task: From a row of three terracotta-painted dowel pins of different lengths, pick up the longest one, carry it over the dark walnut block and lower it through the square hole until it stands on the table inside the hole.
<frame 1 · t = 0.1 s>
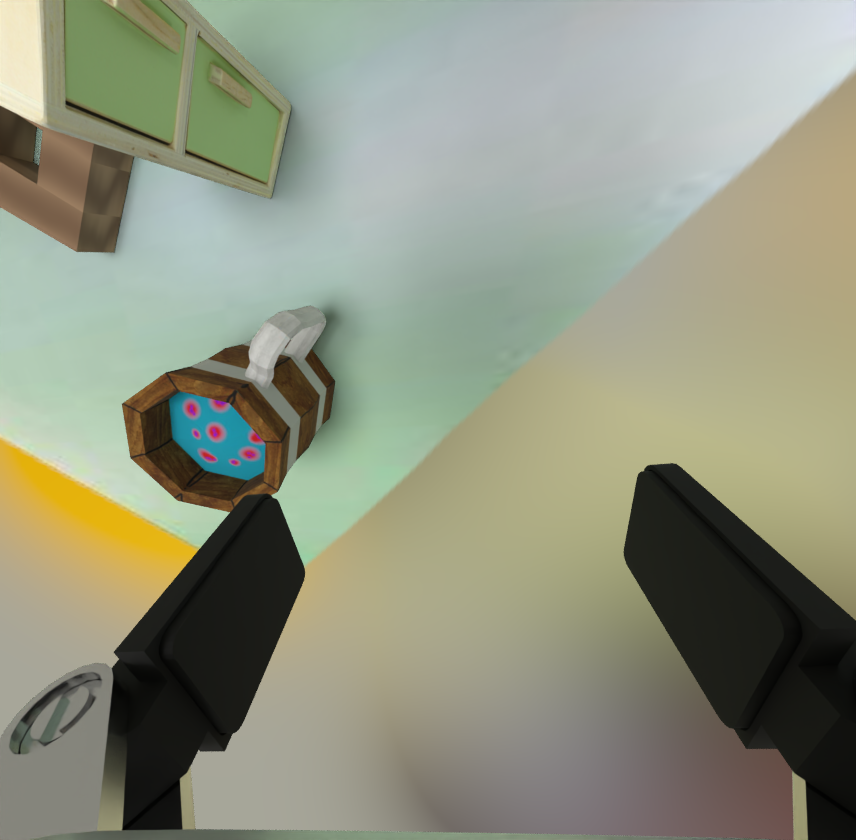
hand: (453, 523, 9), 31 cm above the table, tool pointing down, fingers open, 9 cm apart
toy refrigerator: (252, 140, 31), on the table
hole block: (60, 153, 32), on the table
mug: (294, 367, 40), on the table
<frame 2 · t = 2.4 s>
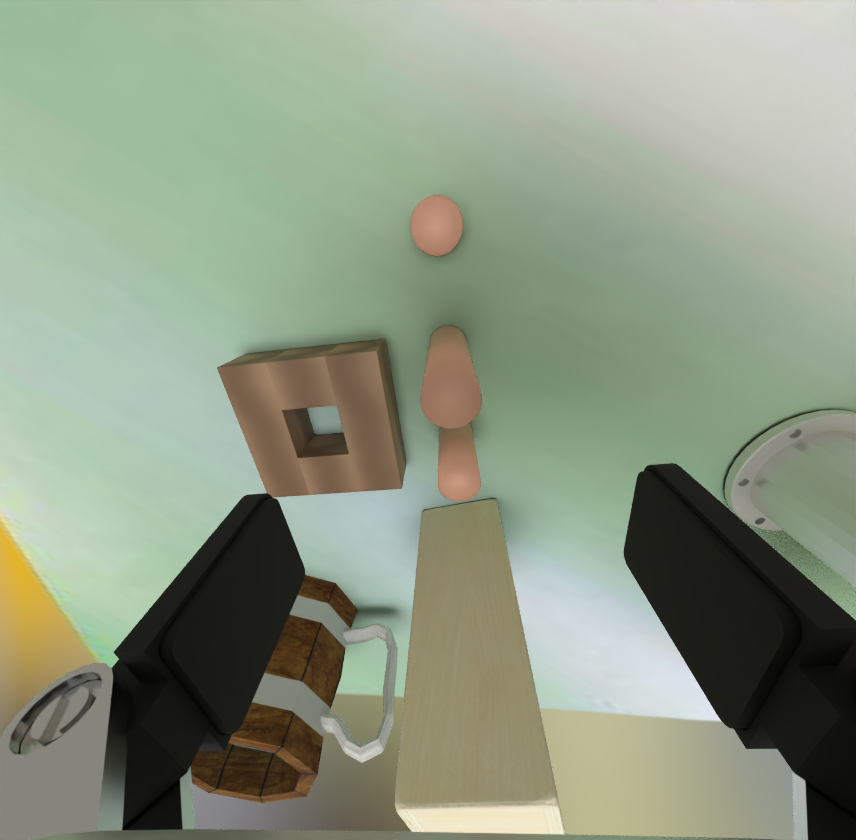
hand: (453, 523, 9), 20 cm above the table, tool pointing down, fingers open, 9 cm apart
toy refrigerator: (464, 528, 36), on the table
hole block: (331, 412, 30), on the table
pin short: (437, 232, 24), on the table
pin medium: (455, 431, 31), on the table
mug: (329, 607, 43), on the table
pin long: (447, 344, 27), on the table
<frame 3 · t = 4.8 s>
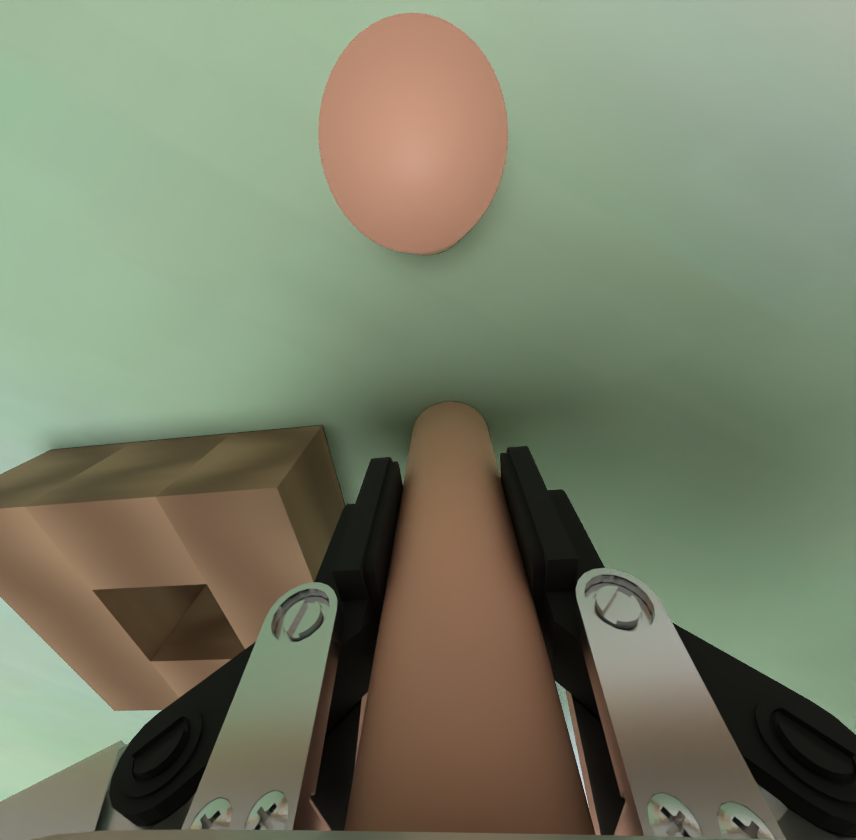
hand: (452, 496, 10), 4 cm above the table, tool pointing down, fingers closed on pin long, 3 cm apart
hole block: (234, 545, 16), on the table
pin short: (426, 198, 10), on the table
pin long: (450, 436, 13), on the table, touching gripper
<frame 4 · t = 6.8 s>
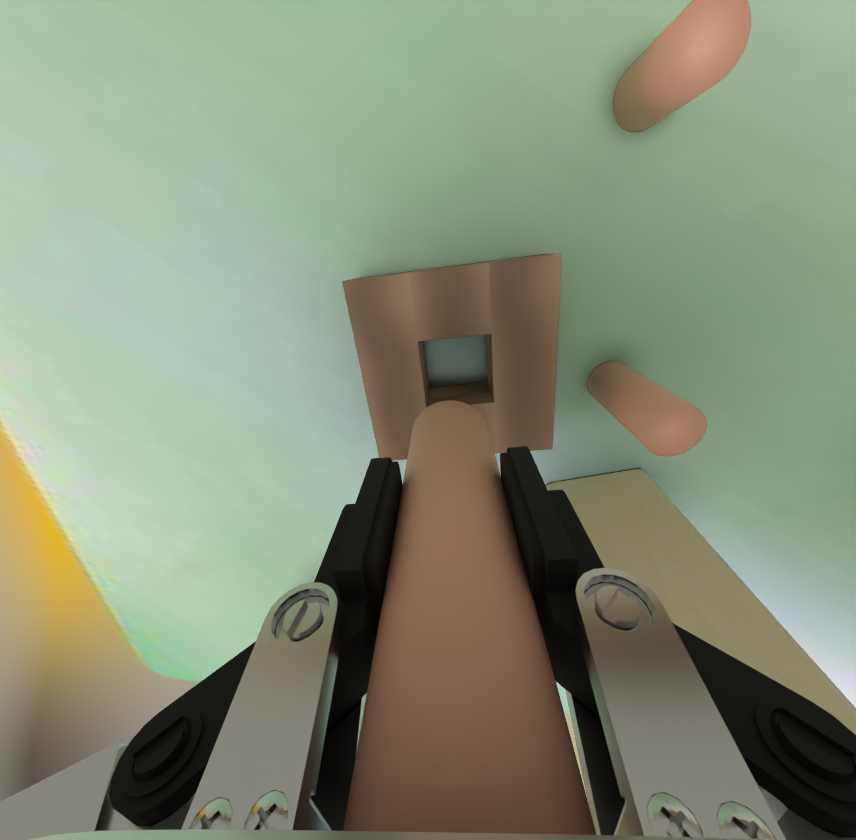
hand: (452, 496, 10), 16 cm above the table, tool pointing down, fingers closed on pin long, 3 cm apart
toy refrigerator: (592, 507, 30), on the table
hole block: (455, 356, 24), on the table
pin short: (642, 96, 18), on the table
pin medium: (608, 380, 25), on the table
pin long: (449, 435, 13), point 12 cm above the table, touching gripper
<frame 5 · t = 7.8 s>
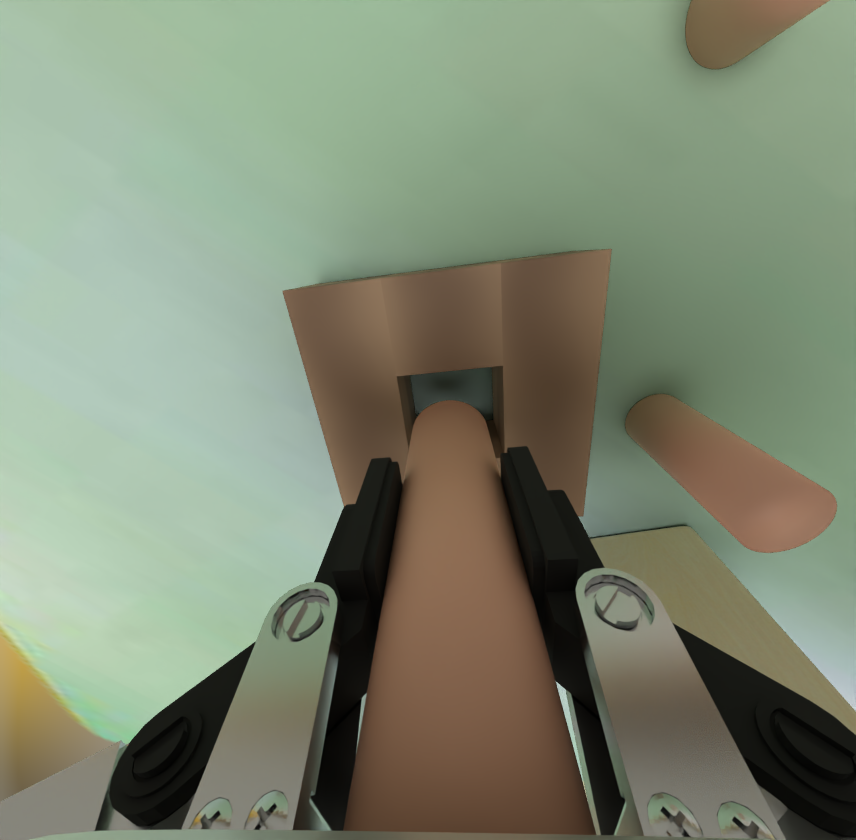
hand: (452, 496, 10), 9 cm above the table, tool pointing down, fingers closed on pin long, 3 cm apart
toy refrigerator: (623, 568, 24), on the table
hole block: (451, 387, 18), on the table
pin short: (731, 11, 12), on the table
pin medium: (653, 419, 19), on the table
pin long: (449, 435, 13), point 6 cm above the table, touching gripper
when the fingers open (5 cm above the table, at t = 8.8 s): pin long drops 1 cm, resting in hole block.
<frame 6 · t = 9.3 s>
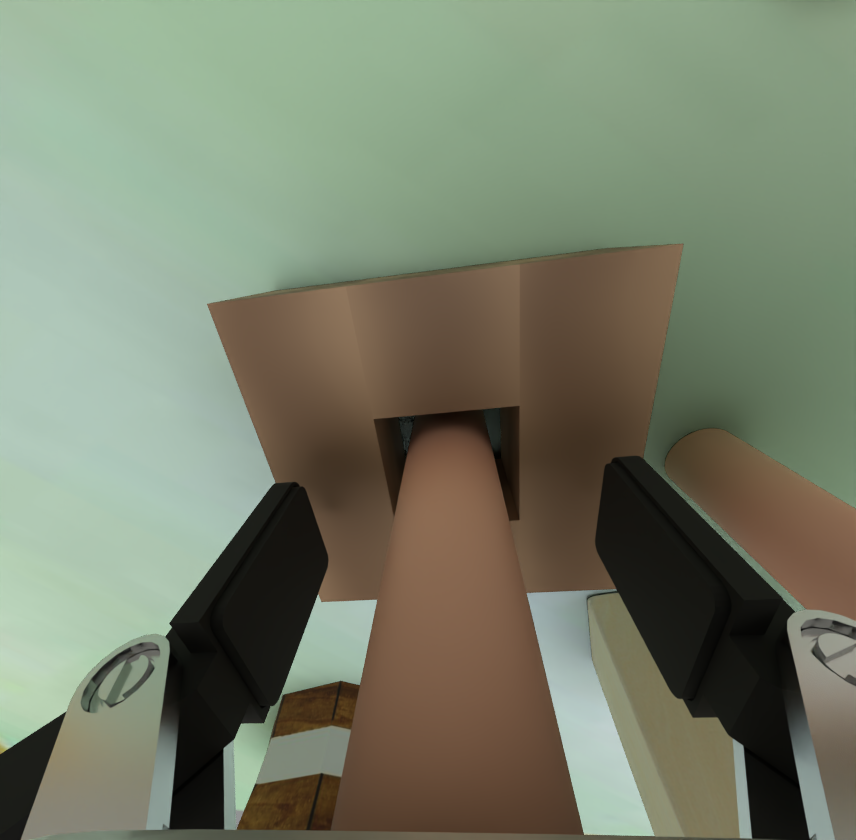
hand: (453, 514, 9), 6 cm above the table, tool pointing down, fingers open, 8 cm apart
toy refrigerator: (652, 623, 20), on the table
hole block: (449, 420, 15), on the table
pin medium: (700, 458, 15), on the table
mug: (392, 725, 27), on the table
pin long: (449, 419, 15), resting in hole block
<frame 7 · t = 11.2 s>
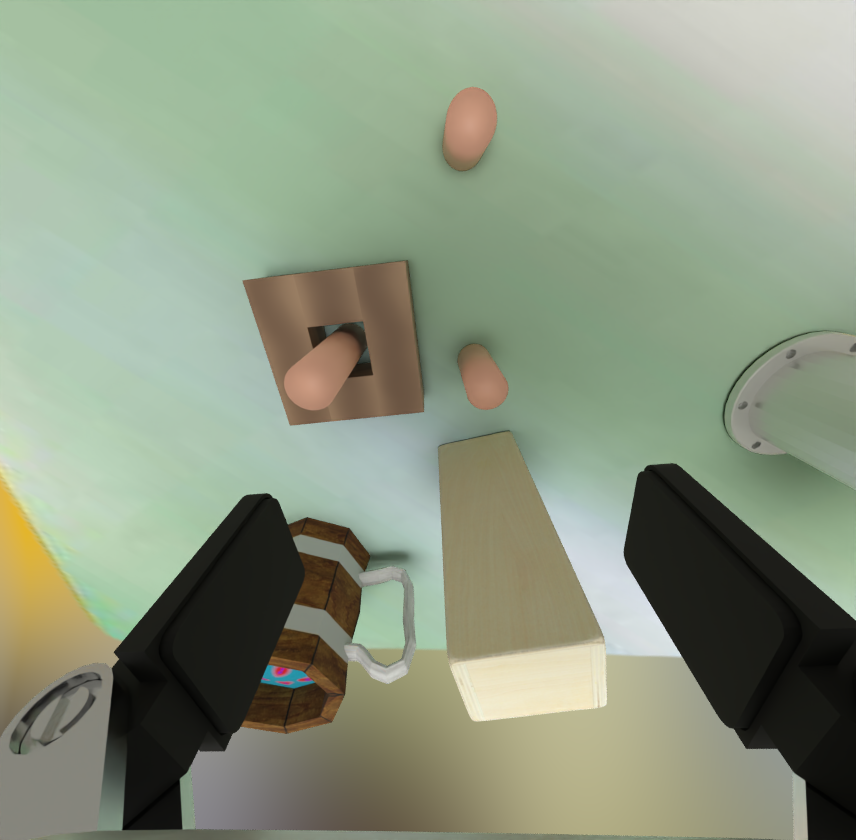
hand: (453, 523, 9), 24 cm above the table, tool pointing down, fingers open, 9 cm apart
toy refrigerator: (478, 464, 37), on the table
hole block: (351, 340, 30), on the table
pin short: (463, 145, 24), on the table
pin medium: (473, 359, 31), on the table
mug: (342, 555, 43), on the table
pin long: (351, 340, 30), resting in hole block
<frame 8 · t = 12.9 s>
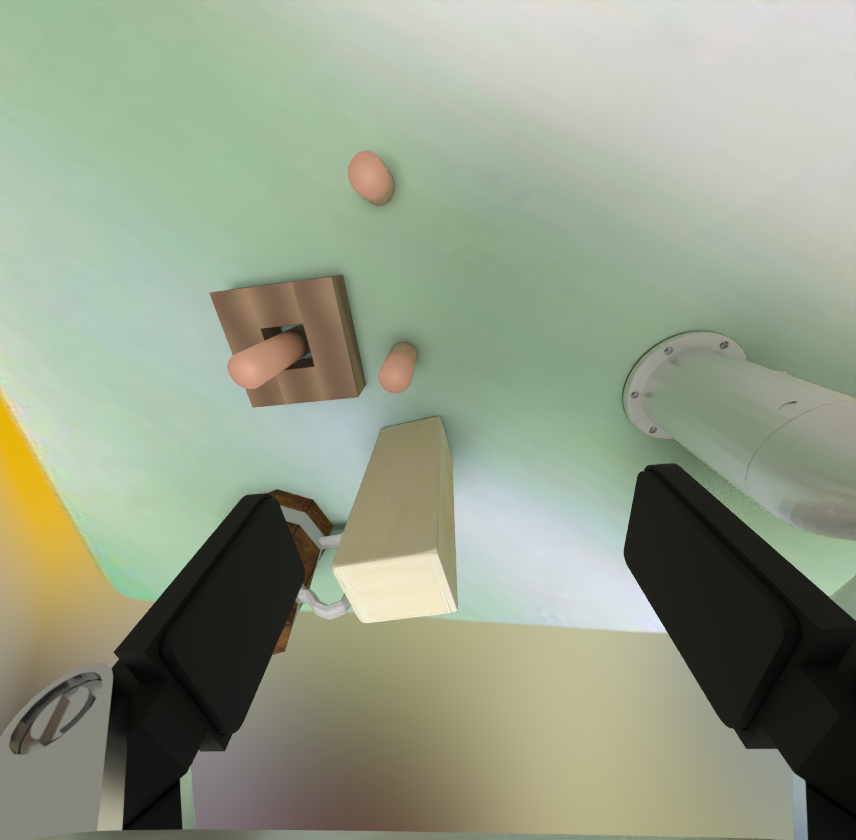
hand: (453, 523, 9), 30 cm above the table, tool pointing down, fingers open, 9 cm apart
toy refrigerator: (417, 445, 43), on the table
hole block: (303, 339, 37), on the table
pin short: (377, 186, 31), on the table
pin medium: (403, 355, 38), on the table
mug: (308, 524, 50), on the table
pin long: (303, 339, 37), resting in hole block
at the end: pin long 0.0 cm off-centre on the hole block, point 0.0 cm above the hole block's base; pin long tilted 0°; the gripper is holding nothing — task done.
